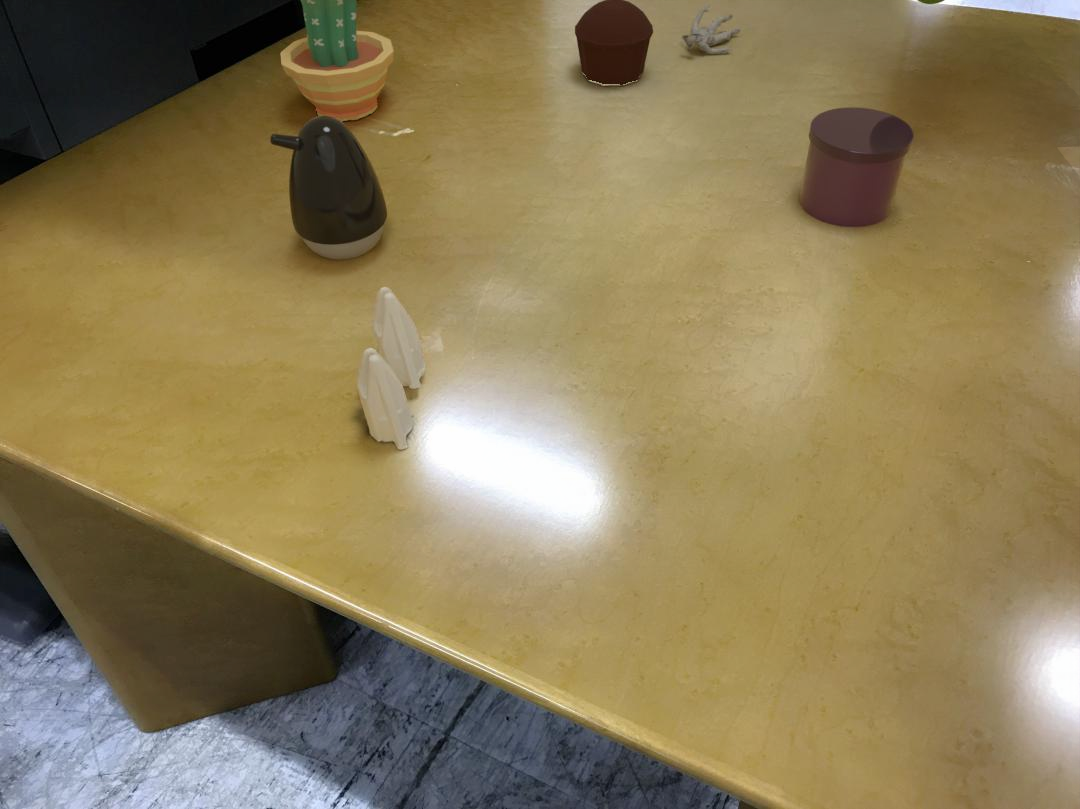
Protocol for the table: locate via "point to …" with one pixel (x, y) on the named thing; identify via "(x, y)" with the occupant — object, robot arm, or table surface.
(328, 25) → the potted cactus
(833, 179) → the jar
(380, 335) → the shaker set
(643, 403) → the table surface
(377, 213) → the pump dispenser
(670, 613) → the table surface
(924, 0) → the snail figurine
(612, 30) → the muffin
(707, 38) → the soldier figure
